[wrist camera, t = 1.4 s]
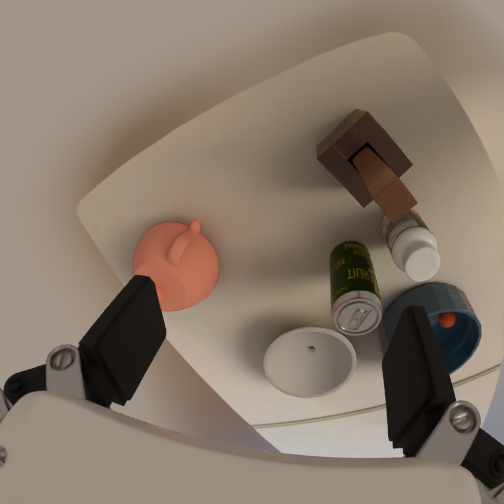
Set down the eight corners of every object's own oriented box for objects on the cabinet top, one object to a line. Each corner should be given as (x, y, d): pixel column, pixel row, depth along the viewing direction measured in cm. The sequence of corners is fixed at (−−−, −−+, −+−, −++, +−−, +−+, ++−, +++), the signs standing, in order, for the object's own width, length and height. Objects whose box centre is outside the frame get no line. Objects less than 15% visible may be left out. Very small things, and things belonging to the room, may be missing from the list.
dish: (271, 298, 44) (266, 320, 39) (367, 310, 41) (370, 333, 37) (264, 370, 52) (259, 391, 48) (340, 379, 50) (340, 401, 46)
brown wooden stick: (356, 136, 30) (398, 177, 15) (368, 149, 31) (418, 203, 15) (344, 147, 31) (373, 199, 16) (356, 160, 32) (393, 223, 16)
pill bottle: (425, 231, 34) (451, 273, 25) (391, 250, 36) (408, 296, 28) (409, 197, 32) (437, 231, 24) (373, 217, 34) (390, 257, 26)
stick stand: (356, 108, 29) (367, 111, 23) (395, 151, 30) (413, 165, 24) (316, 146, 32) (316, 158, 26) (355, 187, 33) (363, 208, 27)
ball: (448, 300, 37) (454, 313, 34) (455, 311, 38) (461, 323, 35) (433, 311, 38) (438, 324, 36) (440, 321, 39) (445, 334, 37)
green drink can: (360, 278, 39) (370, 341, 29) (324, 268, 39) (323, 331, 29) (375, 244, 36) (393, 303, 26) (337, 233, 37) (342, 291, 26)
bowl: (444, 260, 35) (460, 287, 29) (479, 320, 38) (491, 347, 33) (358, 321, 43) (361, 352, 37) (406, 367, 46) (411, 395, 40)
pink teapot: (138, 261, 45) (104, 299, 37) (167, 188, 38) (126, 219, 29) (203, 301, 47) (179, 347, 38) (246, 236, 39) (225, 280, 31)
